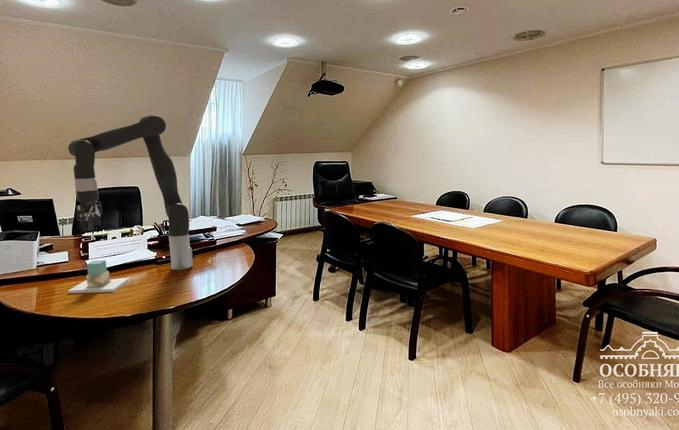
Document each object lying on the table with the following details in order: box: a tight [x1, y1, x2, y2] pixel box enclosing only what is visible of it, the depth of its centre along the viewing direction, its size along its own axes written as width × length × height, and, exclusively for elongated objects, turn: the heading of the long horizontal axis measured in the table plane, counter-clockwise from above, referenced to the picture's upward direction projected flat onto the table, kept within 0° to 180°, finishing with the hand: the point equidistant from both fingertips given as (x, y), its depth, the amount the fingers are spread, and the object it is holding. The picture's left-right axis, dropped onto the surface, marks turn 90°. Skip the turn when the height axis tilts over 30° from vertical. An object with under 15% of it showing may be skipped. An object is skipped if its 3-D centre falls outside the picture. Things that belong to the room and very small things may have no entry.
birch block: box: [86, 270, 111, 287], centre depth 156 cm, size 6×6×5 cm
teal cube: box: [86, 259, 108, 275], centre depth 155 cm, size 5×5×5 cm
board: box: [67, 278, 129, 294], centre depth 157 cm, size 18×12×1 cm, turn 95°
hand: (91, 227), depth 152 cm, fingers open, 8 cm apart
